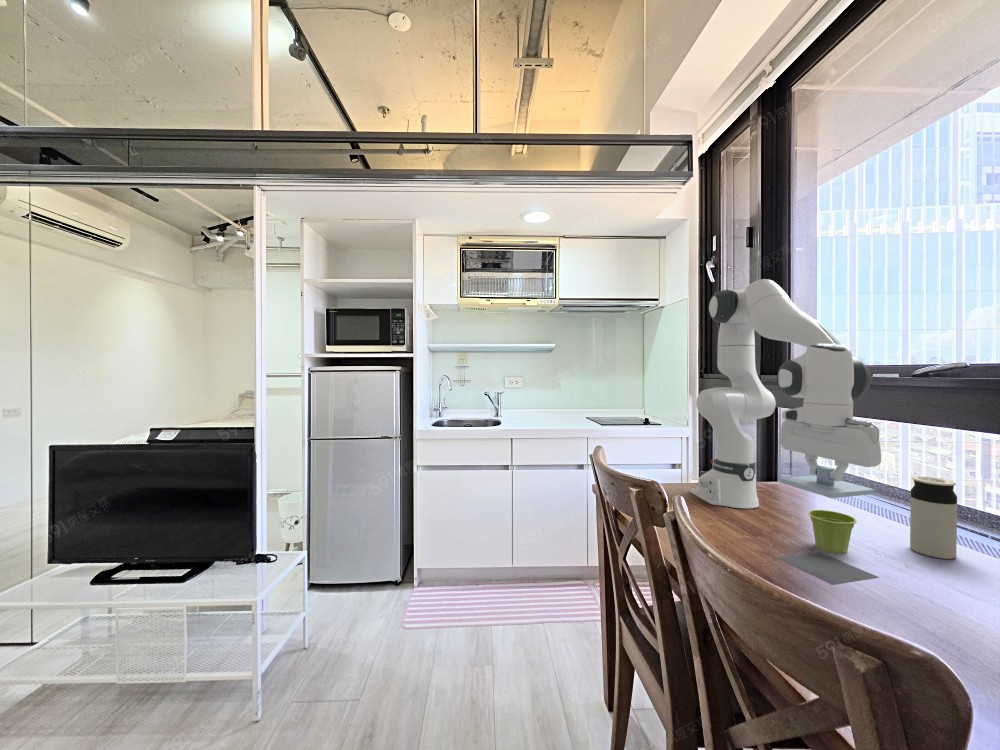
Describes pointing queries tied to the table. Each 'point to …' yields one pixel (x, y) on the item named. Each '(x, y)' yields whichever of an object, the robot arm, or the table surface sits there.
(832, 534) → the plant pot
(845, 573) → the mat
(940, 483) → the travel mug
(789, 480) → the lid
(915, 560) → the table surface
